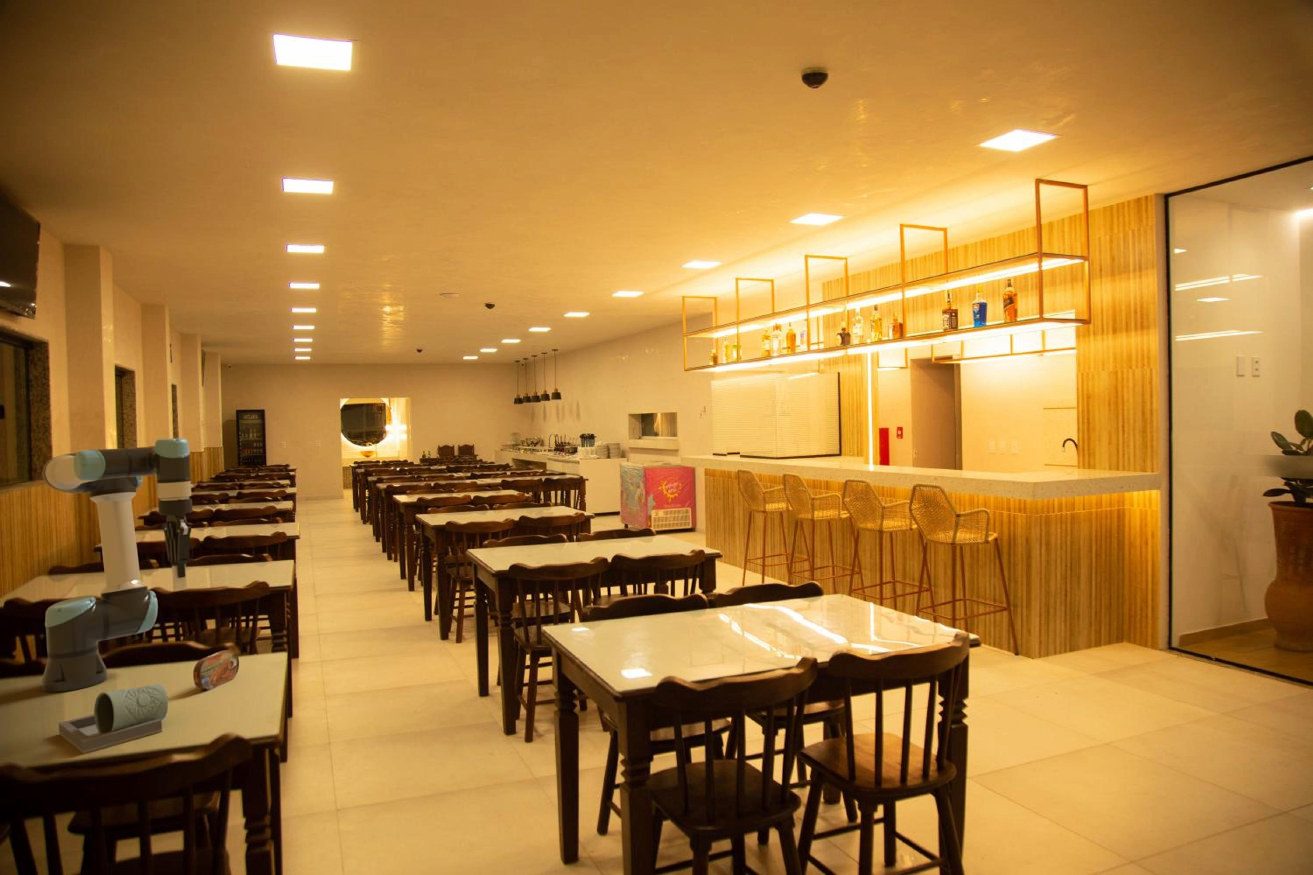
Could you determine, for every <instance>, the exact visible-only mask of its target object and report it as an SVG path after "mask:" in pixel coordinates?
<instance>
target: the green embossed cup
mask: <svg viewBox="0 0 1313 875" xmlns="http://www.w3.org/2000/svg"><path fill="white" fill-rule="evenodd" d="M93 707H94V708H93V709H94V710H93V714H94V718H95V724H96V727H97V730H98V732H99V733H100V735H101V734H105V733H108V732H112V731H116V730H120V729H123V728H127V727H131V726H135V725H138V724H142V723H146V722H150V721H153V720H157V719H160V720H161V721H163V720H164V719H165V718H166V717H167V714H168V710H169V709H168V708H169V699H168V693H167V691H166V688H165V687H164V686H163V685H162V684H158V683H156V684H150V685H145V686H144V685H143V686H138V687H131V688H124V689H123V688H122V689H115V690H108V691H102V692H100V693H99V694H98V695H97V696H96V698H95V702H94V706H93Z"/></svg>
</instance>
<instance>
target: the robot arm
mask: <svg viewBox="0 0 1313 875" xmlns="http://www.w3.org/2000/svg"><path fill="white" fill-rule="evenodd" d="M190 452H191V451H190V446H189V441H188V440H187V439H186V438H183V437H182V438H164V439H163V438H160V439H157V440H156V441H155V442H154V445H153V446H152V445H150V446H143V447H142V446H140V447H125V448H124V447H123V448H105V449H96V448H95V449H93V448H92V449H87V450H79V451H77V452H70V453H65V454H61V455H58V456H55V457H53V458H51V459H50V460H48V461H47V462H46V463H45V464H44V467H43V469H42V479H43V480H44V481H43V482H45V484H46V485H47V486H49V487H50V488H51V489H53V490H55V491H58V492H61V493H65V494H66V493H68V494H85V493H88V494H89V499H90V501H92V502H94V503H95V504H96V507H97V508H96V509H97V515H98V524H99V525H98V526H99V534H100V535H99V536H100V541H101V542H100V544H101V549H102V550H101V551H102V560H103V568H104V579H105V586H104V588H103V589H102V590H101V591H100V599H96V597H95V596H94V595H83V596H77V597H73V598H68V599H65V600H62V601H59V602H56V603H54V604H52V605H50V606H49V607H48V608H47V609H46V611H45V622H44V626H45V633H46V634H45V637H46V651H47V662H46V666H45V669H44V671H43V672H44V673H43V676H42V679H41V690H42V691H43V692H49V693H56V692H57V693H58V692H59V693H60V692H69V691H74V690H75V691H76V690H80V689H85V688H88V687H91V686H95V685H98V684H100V683H102V682H104V681H106V680H107V679H108V671H107V670H108V669H107V667H106V664H105V663H104V661H103V658H102V657H101V654H100V652H99V642H101V641H106V640H110V639H111V640H113V639H116V638H117V639H118V638H122V637H128V636H132V635H133V636H135V635H137V634H142V633H144V632H147V631H150V630H151V629H152V628H153V627H154V625H155V622H156V620H157V617H158V608H159V606H158V599H157V595H156V593H155V592H154V591H153V590H149V589H148V584H146V583H145V582H143V581H142V580H141V573H140V565H139V556H138V547H137V546H138V545H137V537H136V530H135V528H136V527H135V522H134V513H133V511H134V510H133V504H132V503H133V502H132V500H133V498H134V497H136V495H137V490H138V489H140V488H141V487H142V485H143V483H144V482H143V478H144V477H148V476H156V482H157V483H156V490H157V491H156V492H157V498H158V499H160V500H159V501H158V503H157V504H158V514H159V515H160V516H166V520H165V521H166V522H165V524H163V525H162V530H163V533H164V542H165V546H166V553H167V561H168V562H170V564H171V569H172V570H171V571H172V589H173V591H174V592H179V591H183V590H184V591H185V590H187V589H188V583H187V563H189V562H190V552H191V551H190V549H191V548H190V547H191V546H190V545H191V532H192V526H188V520H187V517H186V514H191V513H193V499H191V496H192V488H193V486H194V485H193V484H192V483H191V460H190V454H191V453H190Z"/></svg>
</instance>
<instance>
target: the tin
mask: <svg viewBox="0 0 1313 875" xmlns="http://www.w3.org/2000/svg"><path fill="white" fill-rule="evenodd" d="M239 668H240V660H239V656H238V654H237V653H236V651H234V650H232V649H227V650H221V651H218V652H215V653H213V654H211V655H208V656H206V657H204V658H201V659H199V660H198V661H197V662H196V663H195V666H194V668H193V671H192V675H193V682H194V685H195V686H196V688H198V689H200V690H213V689H215V688H217V686H218V685H220V686H221V684H222V685H223V683H224V684H226V683H228V682H230V681H232V680H233V679H234V678H235V677H236V676H237V674H238V672H239ZM225 682H226V683H225ZM218 687H219V686H218Z"/></svg>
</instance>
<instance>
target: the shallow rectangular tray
mask: <svg viewBox="0 0 1313 875" xmlns="http://www.w3.org/2000/svg"><path fill="white" fill-rule="evenodd" d="M162 721H163V720H160V719H157V720H153V721H150V722H146V723H142V724H138V725H135V726H131V727H127V728H123V729H120V730H116V731H112V732H108V733H105V734H101V735H100V733H99V732H98V730H97V727H96V724H95V718H94V713H93V714H90V715H86V716H82V717H81V716H80V717H77V718H73V719H69V720H66V721H62V722H59V723H58V731H59V732H58V733H59V734H58V735H60V736H61V737H62V738H64V739H65V740H66V741H67V742H69V743H70V744H71V745H72V746H74V747H75V748H76V749H78V750H79V752H81V753H82V754H87V753H90V752H94V751H97V750H102V749H105V748H108V747H111V746H115V745H119V744H122V743H125V741H126V742H129V741H133V739H134V740H137V739H140V738H143V737H148V736H151V735H150V734H152V735H154V734H159V733H161V732H163V723H162ZM158 732H159V733H158ZM147 735H148V736H147ZM136 738H137V739H136Z"/></svg>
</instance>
